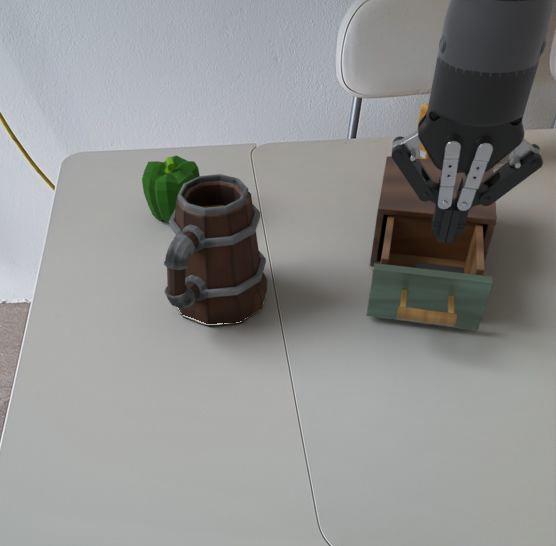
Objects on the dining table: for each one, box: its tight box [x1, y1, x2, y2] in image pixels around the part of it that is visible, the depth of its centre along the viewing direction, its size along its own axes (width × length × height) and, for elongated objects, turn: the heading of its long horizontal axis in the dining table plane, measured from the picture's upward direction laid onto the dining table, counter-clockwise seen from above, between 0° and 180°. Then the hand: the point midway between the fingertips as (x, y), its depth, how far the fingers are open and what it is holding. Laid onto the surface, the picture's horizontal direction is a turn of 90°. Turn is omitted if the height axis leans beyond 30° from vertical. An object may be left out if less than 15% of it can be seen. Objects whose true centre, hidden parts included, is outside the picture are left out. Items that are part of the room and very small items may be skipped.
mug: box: [163, 173, 268, 324], centre depth 75 cm, size 16×12×15 cm
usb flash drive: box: [414, 262, 464, 273], centre depth 77 cm, size 8×3×2 cm, turn 74°
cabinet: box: [369, 155, 498, 267], centre depth 85 cm, size 14×14×9 cm
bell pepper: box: [141, 155, 201, 224], centre depth 93 cm, size 8×8×10 cm
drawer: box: [366, 215, 494, 331], centre depth 75 cm, size 17×12×7 cm
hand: (444, 237), depth 62 cm, fingers closed
